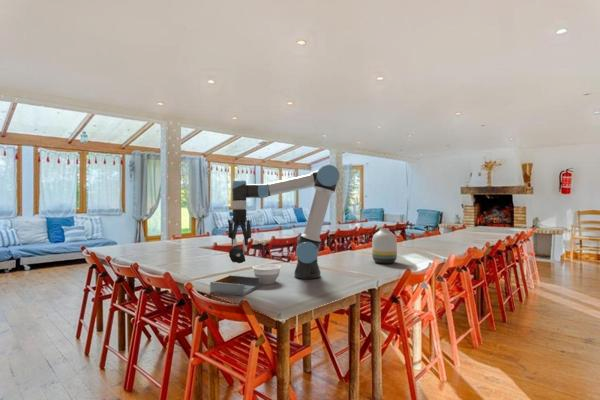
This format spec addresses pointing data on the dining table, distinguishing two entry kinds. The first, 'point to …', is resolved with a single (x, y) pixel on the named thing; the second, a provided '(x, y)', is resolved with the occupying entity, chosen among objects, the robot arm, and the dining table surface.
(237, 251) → the rock
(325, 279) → the dining table surface
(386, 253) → the vase
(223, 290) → the grey hollow tray
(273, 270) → the bowl
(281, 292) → the dining table surface
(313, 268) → the robot arm
